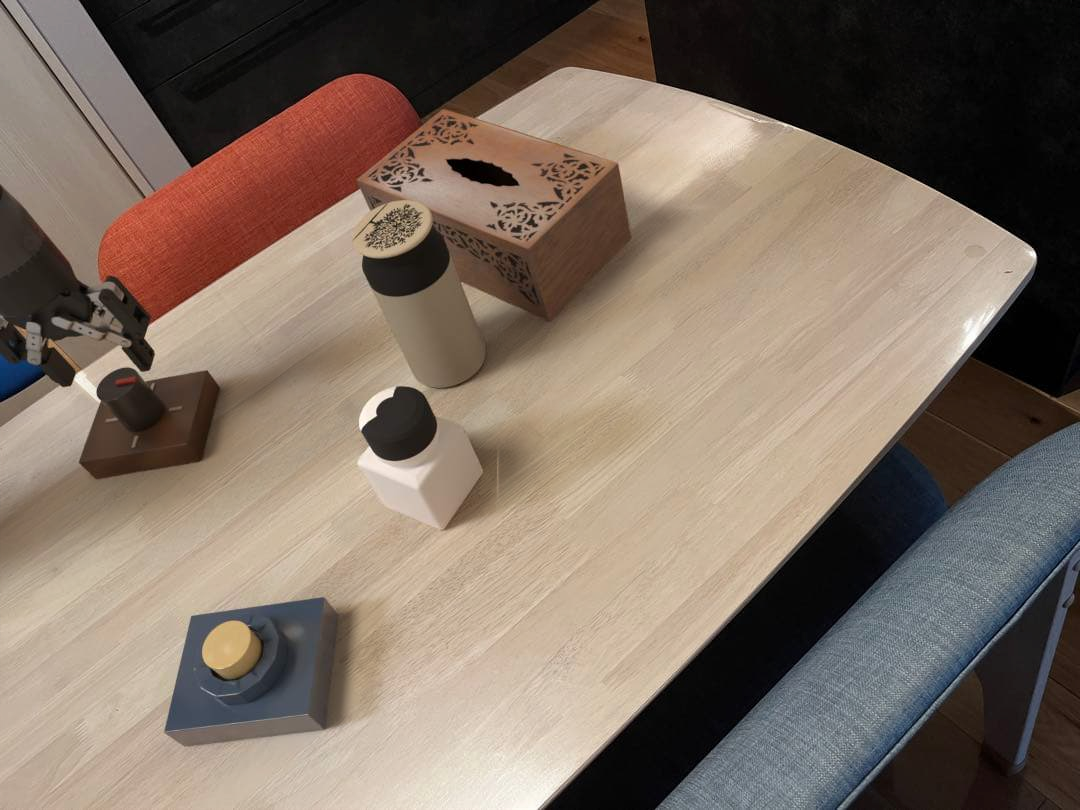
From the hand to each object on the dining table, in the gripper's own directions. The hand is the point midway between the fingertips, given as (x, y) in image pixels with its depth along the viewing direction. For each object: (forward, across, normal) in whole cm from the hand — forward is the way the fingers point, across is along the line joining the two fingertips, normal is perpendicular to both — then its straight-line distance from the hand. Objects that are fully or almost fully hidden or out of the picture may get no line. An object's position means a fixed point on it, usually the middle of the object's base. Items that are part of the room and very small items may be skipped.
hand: (109, 372), depth 90 cm
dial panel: (+10, 0, 0) cm, 10 cm away
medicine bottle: (+10, -31, +13) cm, 35 cm away
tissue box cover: (+10, -38, -20) cm, 44 cm away
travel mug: (+10, -32, -3) cm, 34 cm away
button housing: (+10, -17, +30) cm, 35 cm away
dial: (+7, 0, 0) cm, 7 cm away
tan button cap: (+5, -17, +30) cm, 34 cm away
